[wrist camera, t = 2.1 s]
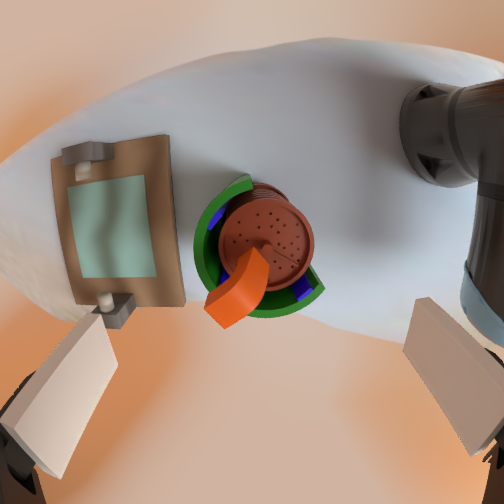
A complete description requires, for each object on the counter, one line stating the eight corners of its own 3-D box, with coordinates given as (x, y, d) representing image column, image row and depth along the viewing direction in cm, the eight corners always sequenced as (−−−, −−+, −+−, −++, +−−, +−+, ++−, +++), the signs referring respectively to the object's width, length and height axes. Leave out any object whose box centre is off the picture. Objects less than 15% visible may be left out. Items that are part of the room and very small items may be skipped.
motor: (310, 218, 34) (377, 284, 15) (262, 269, 36) (274, 378, 17) (247, 163, 32) (243, 160, 13) (200, 219, 34) (143, 288, 15)
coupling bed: (169, 135, 31) (148, 128, 24) (185, 301, 38) (173, 331, 30) (56, 159, 31) (23, 161, 24) (80, 300, 38) (56, 323, 31)
